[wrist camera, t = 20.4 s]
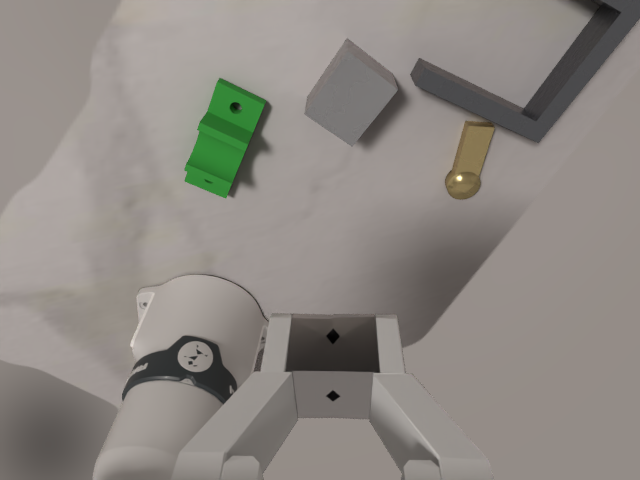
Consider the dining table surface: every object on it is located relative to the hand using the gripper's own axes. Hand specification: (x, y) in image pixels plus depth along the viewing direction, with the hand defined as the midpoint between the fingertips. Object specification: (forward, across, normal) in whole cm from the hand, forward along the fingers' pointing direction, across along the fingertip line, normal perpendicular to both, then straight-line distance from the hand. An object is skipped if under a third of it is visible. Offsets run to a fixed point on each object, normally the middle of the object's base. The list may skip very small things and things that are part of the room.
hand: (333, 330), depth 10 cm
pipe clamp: (+28, +15, +9) cm, 33 cm away
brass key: (+31, -13, +10) cm, 35 cm away
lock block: (+31, -1, +4) cm, 32 cm away
